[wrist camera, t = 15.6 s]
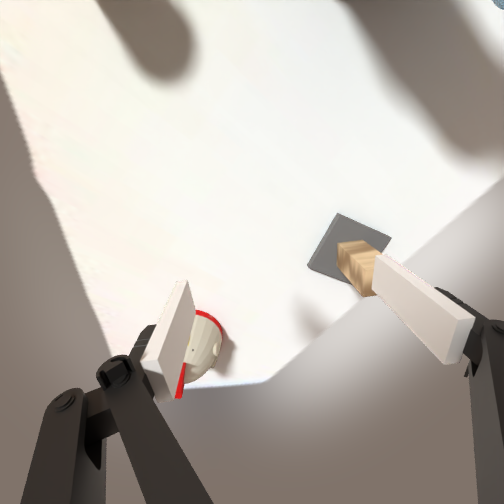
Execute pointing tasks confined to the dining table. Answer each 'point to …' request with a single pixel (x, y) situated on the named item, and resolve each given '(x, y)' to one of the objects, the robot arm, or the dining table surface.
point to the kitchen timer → (200, 349)
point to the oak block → (358, 264)
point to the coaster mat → (338, 233)
